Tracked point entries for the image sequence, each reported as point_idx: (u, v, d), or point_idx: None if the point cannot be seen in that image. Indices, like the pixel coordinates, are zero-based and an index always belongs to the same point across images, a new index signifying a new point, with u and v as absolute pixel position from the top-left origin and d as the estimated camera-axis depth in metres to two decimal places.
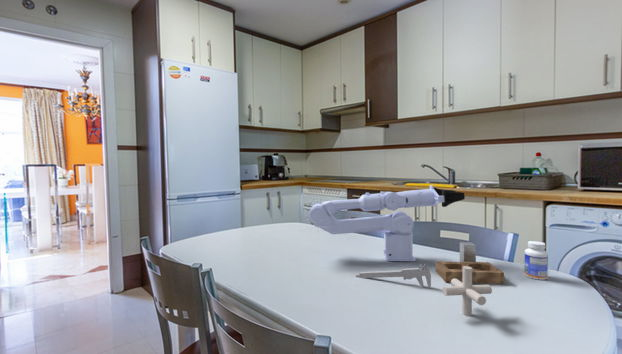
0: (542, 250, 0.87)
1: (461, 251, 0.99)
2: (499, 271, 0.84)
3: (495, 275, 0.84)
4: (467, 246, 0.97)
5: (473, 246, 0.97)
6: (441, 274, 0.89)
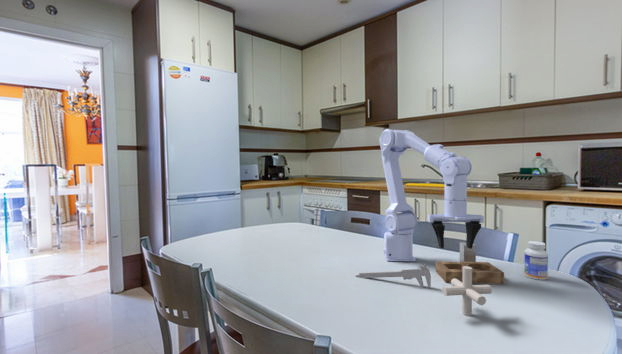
0: (542, 250, 0.87)
1: (461, 251, 0.99)
2: (499, 271, 0.84)
3: (495, 275, 0.84)
4: None
5: (473, 246, 0.97)
6: (441, 274, 0.89)
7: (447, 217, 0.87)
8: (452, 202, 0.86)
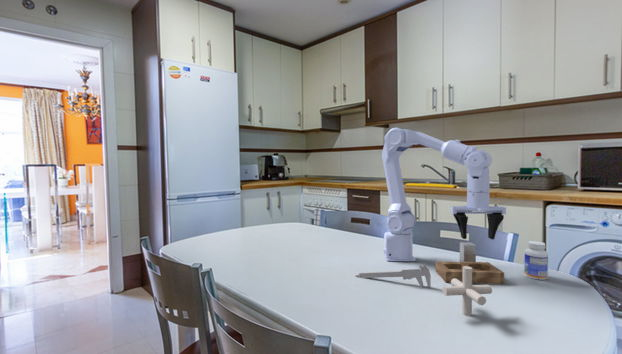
0: (542, 250, 0.87)
1: (461, 251, 0.99)
2: (499, 271, 0.84)
3: (495, 275, 0.84)
4: (467, 246, 0.97)
5: (473, 246, 0.97)
6: (441, 274, 0.89)
7: (470, 208, 0.89)
8: (475, 194, 0.89)
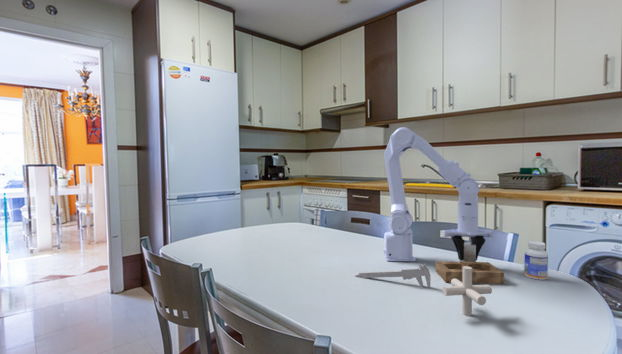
0: (542, 250, 0.87)
1: None
2: (499, 271, 0.84)
3: (495, 275, 0.84)
4: (467, 246, 0.97)
5: (473, 246, 0.97)
6: (441, 274, 0.89)
7: (460, 232, 0.97)
8: (465, 219, 0.96)
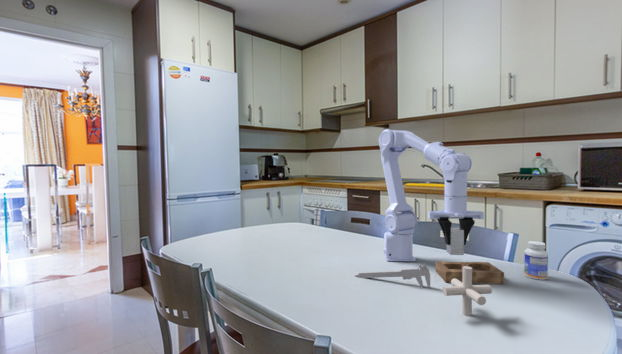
0: (542, 250, 0.87)
1: None
2: (499, 271, 0.84)
3: (495, 275, 0.84)
4: (454, 231, 0.87)
5: (461, 231, 0.87)
6: (441, 274, 0.89)
7: (447, 213, 0.87)
8: (452, 198, 0.86)
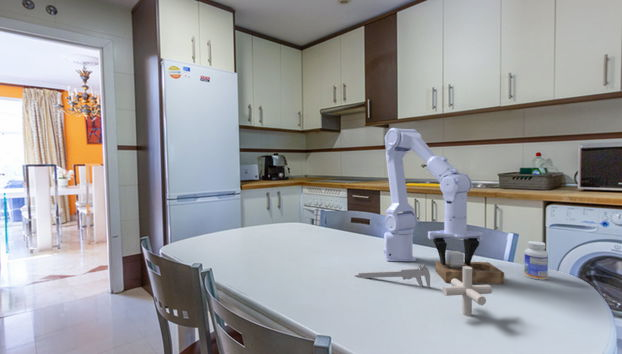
0: (542, 250, 0.87)
1: (448, 261, 0.90)
2: (499, 271, 0.84)
3: (495, 275, 0.84)
4: (454, 255, 0.87)
5: (461, 255, 0.87)
6: (441, 274, 0.89)
7: (447, 234, 0.87)
8: (452, 219, 0.86)
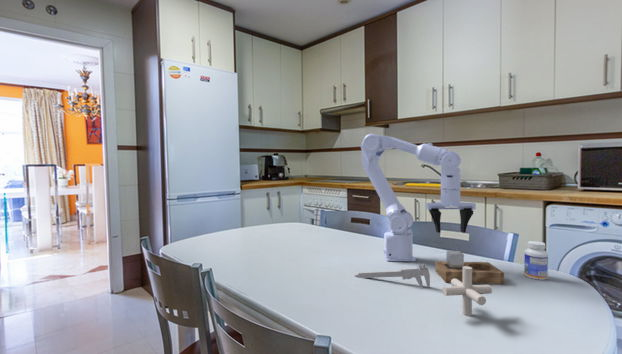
0: (542, 250, 0.87)
1: (448, 261, 0.90)
2: (499, 271, 0.84)
3: (495, 275, 0.84)
4: (454, 255, 0.87)
5: (461, 255, 0.87)
6: (441, 274, 0.89)
7: (443, 205, 0.98)
8: (447, 191, 0.97)
